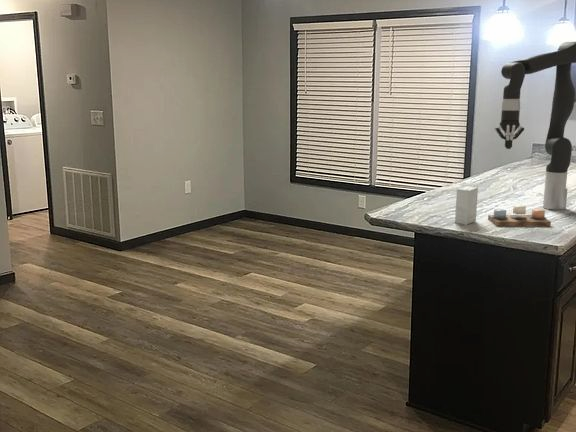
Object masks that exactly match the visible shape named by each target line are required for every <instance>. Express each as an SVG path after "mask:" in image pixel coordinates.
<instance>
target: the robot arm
mask: <svg viewBox="0 0 576 432" xmlns="http://www.w3.org/2000/svg"><path fill="white" fill-rule="evenodd" d="M572 64H576V41H565V42H564V41H563V42H562V43H560V45H559V46H558V48H557V50H556V51H552V52H547V53H540V54H537V55H533V56H530V57H527V58H524V59H518V60H514V61H510V62H507V63H505V64H503V66H502V68H501V71H500V73H501V76H502V78H504V79H506V80H509V81H508V82H509V83H508V84H507V85H505V86H504V87H503V93H502V103H501V114H500V115H501V118H500V123H499V125H497V126H495V127H494V131H495V132H496V133H497V134H498V136H499V138H500V139H503V140H504V147H505V149H507V150H510V149H512V148H513V141H514V140H517V139H518V138H519V137H520V135H521V134H522V133H523V132H524V131H525V127H523V126H521V123H520V113H521V111H520V110H521V88H522V86H523V83H524V80H525V76H526V75H533V74H535V73H538V72H540V71H544V70H546V69H550V68H553V67H555V79H554V82H555V83H554V90H553V95H552V103H551V110H550V111H551V113H550V120H549V126H548V131H547V133H546V134H547V135H546V139H545V143H544V149H545V152H546V154H547V155H549V156H551V158H550V162H549V163H548V164H547V165H546V166H545V178H544V179H545V180H544V190H543V192H544V193H543V202H542V207H543V208H544V209H547V210H557V211H558V210H559V211H561V210H566V209H567V201H568V200H567V199H568V188H567V183H568V182H567V179H568V169H569V167H570V165H571V160H572V158H571V157H572V151H573V146H572V143H571V140H570V139H569V138H567V137H565V128H566V125H567V122H568V120H569V119H570V116H571V114H572V113H573V111H574V107H575V101H576V89H575V86H574V84H573V80H572V75H571V69H572ZM502 131H503V132H502Z"/></svg>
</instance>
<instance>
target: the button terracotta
mask: <svg viewBox="0 0 576 432" xmlns="http://www.w3.org/2000/svg"><path fill="white" fill-rule="evenodd" d="M531 215H532V218H538V219H542V218H544V217H546V211H545V210H544V209H539V208H535V209H532V210H531Z"/></svg>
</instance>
